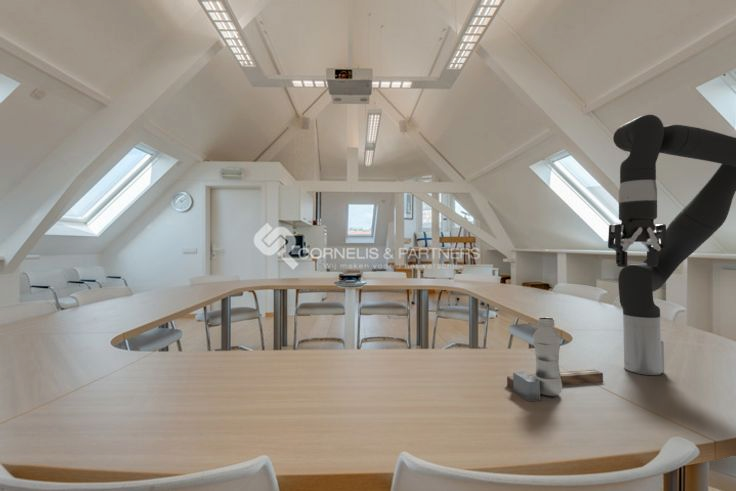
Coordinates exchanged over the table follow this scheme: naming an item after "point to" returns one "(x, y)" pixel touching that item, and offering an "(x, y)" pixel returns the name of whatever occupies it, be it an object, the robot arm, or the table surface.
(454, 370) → the table surface
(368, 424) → the table surface
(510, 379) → the walnut rail
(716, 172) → the robot arm
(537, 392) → the metal end stop
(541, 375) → the plastic bottle
